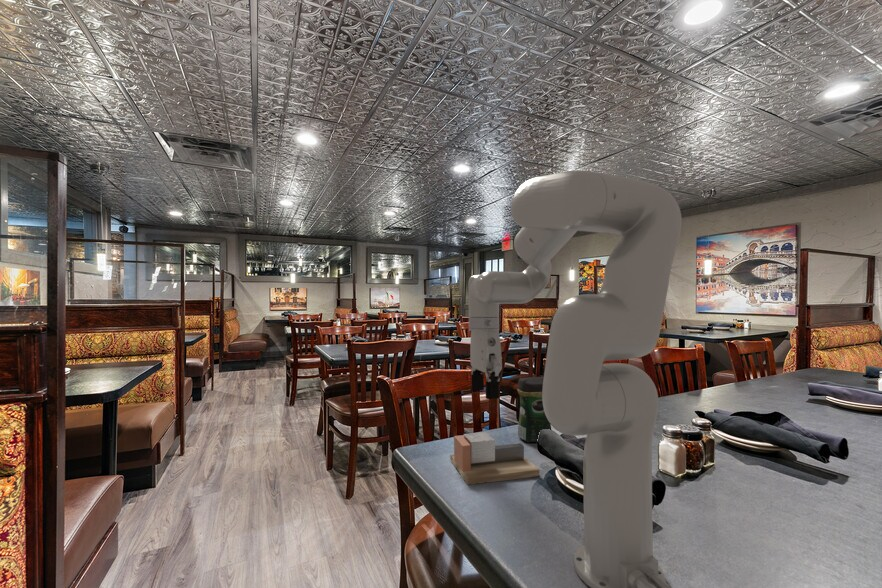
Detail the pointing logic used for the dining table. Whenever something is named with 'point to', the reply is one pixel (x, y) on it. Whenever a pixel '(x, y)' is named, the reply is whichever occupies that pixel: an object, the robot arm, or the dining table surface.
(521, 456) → the rail
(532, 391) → the coffee jar
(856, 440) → the dining table surface
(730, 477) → the dining table surface
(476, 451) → the saddle block
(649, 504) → the robot arm
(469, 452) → the stop
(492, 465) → the board
